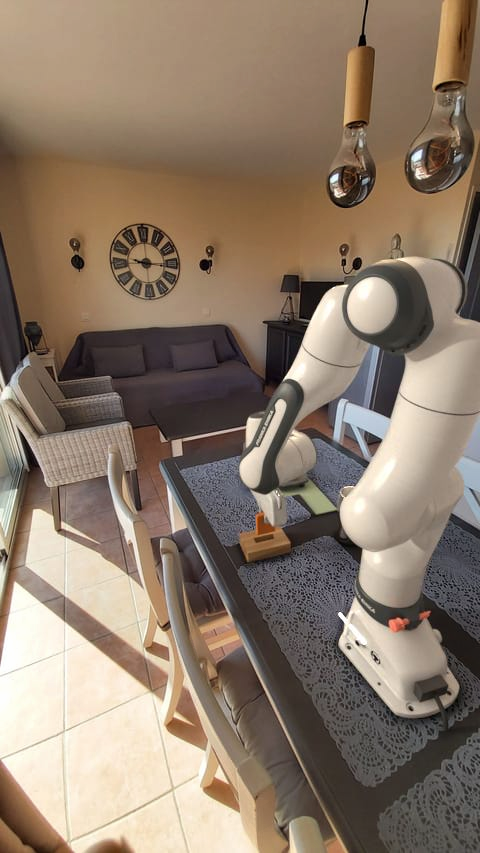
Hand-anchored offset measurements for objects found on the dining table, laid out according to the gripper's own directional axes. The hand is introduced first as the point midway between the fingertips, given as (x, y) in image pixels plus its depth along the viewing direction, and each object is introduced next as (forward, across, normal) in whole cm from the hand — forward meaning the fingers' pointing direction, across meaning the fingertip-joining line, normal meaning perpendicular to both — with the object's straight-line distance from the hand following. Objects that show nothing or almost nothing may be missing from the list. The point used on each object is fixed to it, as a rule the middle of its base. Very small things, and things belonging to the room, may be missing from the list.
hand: (265, 519), depth 94 cm
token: (+4, 0, 0) cm, 4 cm away
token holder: (+11, +1, 0) cm, 11 cm away
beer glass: (+11, -2, -24) cm, 26 cm away
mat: (+10, +20, -18) cm, 28 cm away
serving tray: (+10, +43, -19) cm, 48 cm away
